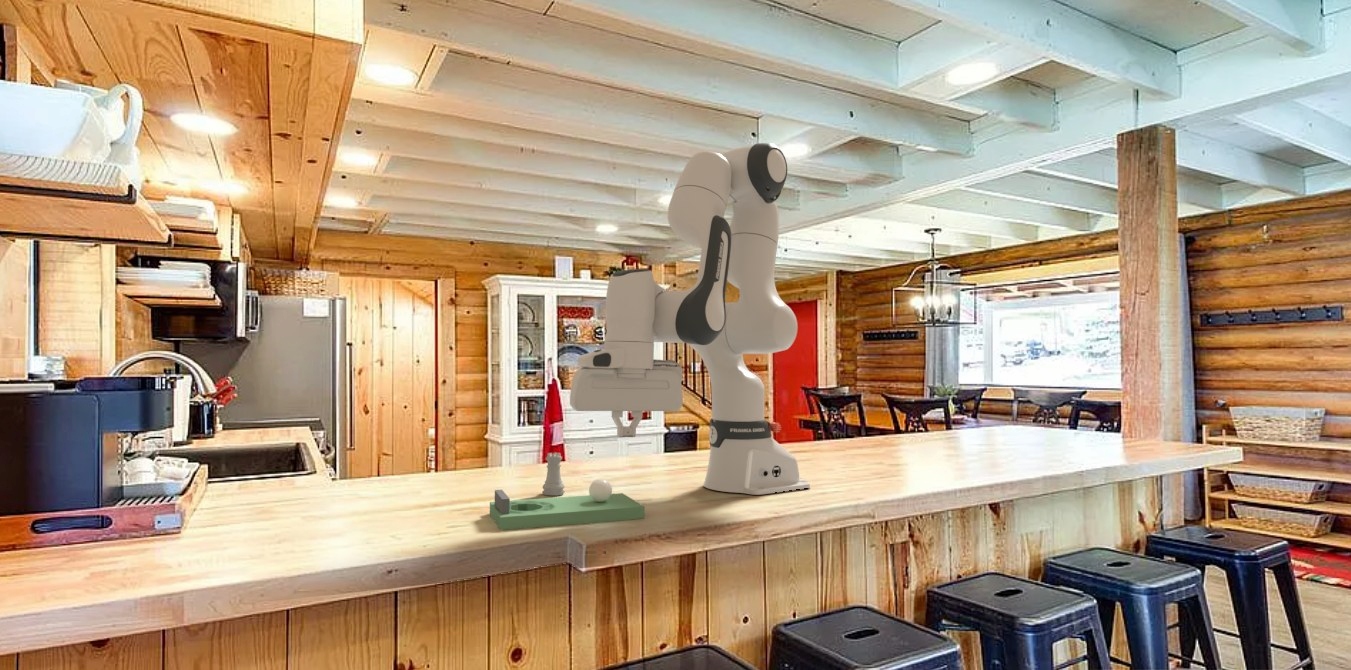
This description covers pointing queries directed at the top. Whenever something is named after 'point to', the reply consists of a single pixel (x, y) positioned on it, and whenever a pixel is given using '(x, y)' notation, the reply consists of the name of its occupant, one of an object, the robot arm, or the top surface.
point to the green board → (561, 510)
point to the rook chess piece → (553, 476)
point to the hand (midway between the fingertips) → (626, 437)
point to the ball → (600, 490)
